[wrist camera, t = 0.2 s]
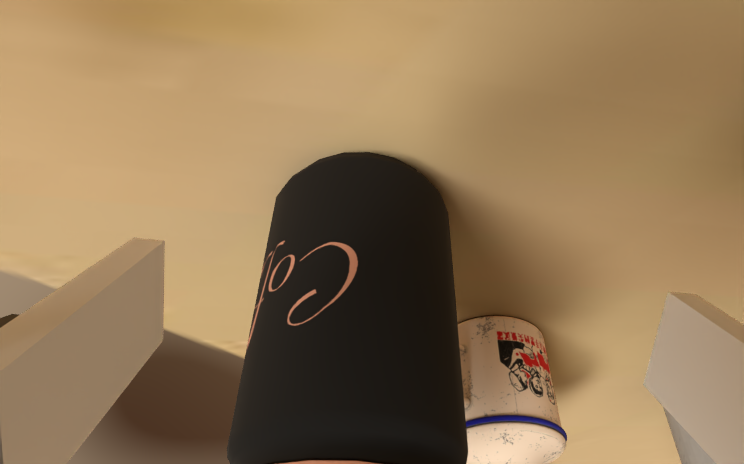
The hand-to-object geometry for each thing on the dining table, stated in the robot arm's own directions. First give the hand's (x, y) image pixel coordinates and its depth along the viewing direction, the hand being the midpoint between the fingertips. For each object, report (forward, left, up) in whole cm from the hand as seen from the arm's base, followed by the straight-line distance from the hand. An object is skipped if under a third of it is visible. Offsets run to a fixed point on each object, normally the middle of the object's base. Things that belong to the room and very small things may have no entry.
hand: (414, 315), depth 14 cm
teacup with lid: (+27, +10, -16) cm, 33 cm away
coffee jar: (+13, -1, -16) cm, 21 cm away
